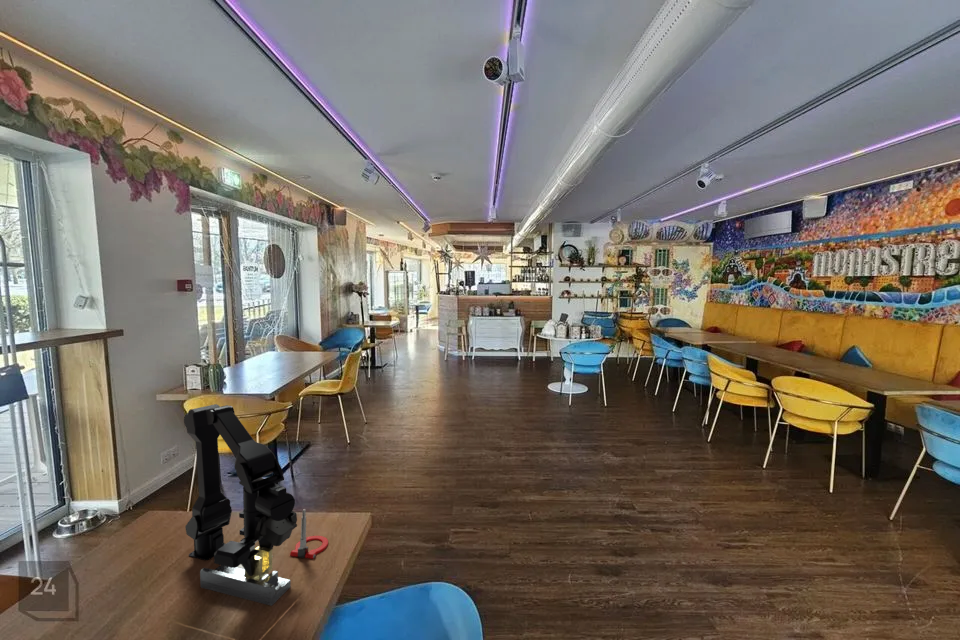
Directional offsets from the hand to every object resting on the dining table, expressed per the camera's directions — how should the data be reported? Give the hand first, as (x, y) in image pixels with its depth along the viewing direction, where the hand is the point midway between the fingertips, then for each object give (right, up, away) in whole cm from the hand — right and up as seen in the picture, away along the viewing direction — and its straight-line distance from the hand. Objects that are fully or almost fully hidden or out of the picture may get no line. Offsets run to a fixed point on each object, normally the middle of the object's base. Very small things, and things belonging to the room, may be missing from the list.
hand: (258, 569), depth 94 cm
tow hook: (+6, -4, +16) cm, 17 cm away
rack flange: (-3, -5, 0) cm, 6 cm away
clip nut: (0, -1, 0) cm, 1 cm away
